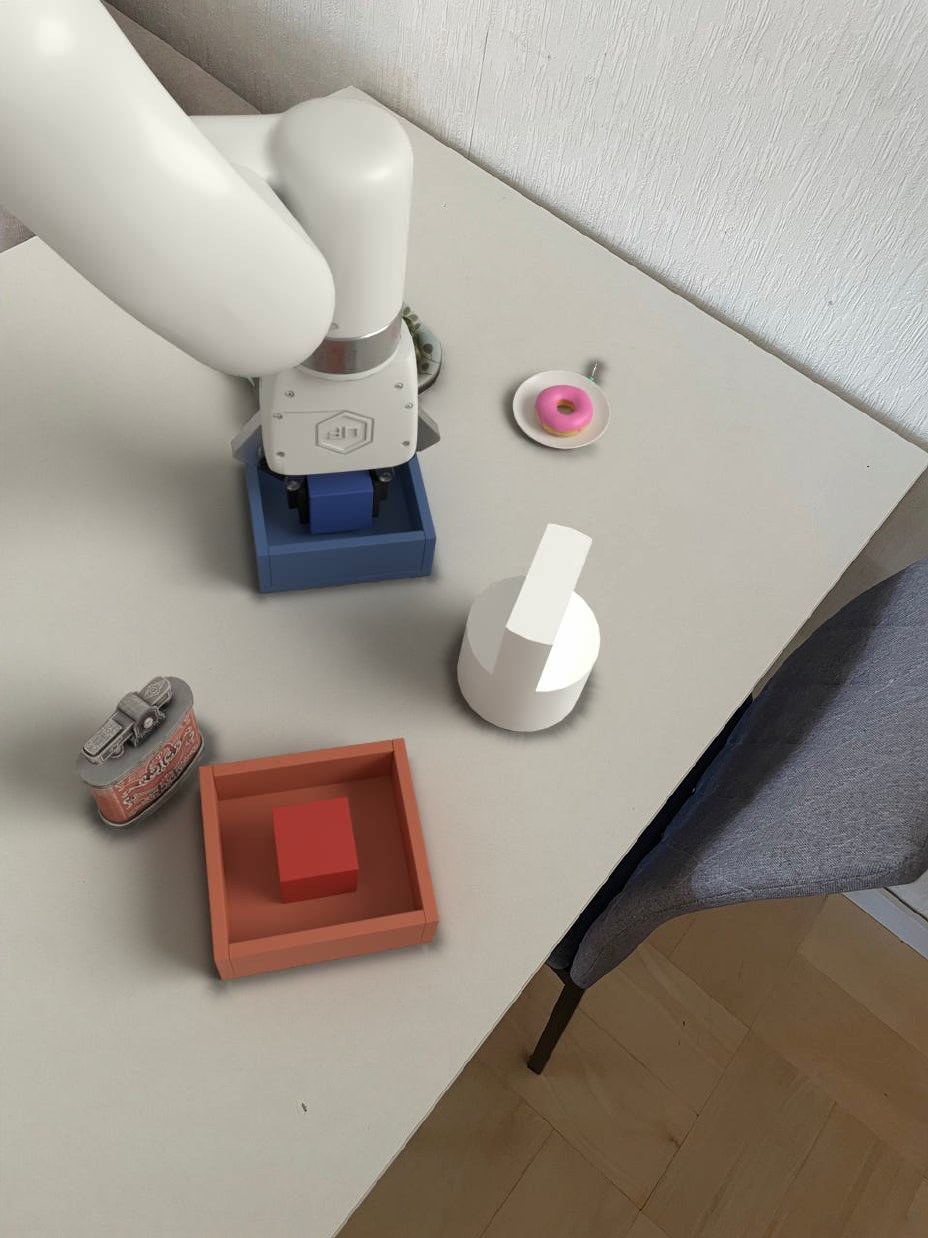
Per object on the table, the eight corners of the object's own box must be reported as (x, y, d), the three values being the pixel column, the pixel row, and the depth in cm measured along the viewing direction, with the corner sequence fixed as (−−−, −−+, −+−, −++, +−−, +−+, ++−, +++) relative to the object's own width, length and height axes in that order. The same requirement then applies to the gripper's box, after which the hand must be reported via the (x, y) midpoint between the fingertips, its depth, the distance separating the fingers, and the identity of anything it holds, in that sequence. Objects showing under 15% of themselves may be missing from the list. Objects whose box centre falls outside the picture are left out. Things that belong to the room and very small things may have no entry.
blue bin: (260, 594, 74) (256, 556, 70) (244, 470, 80) (240, 428, 76) (430, 575, 76) (436, 537, 72) (403, 456, 82) (407, 415, 78)
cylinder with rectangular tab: (560, 750, 70) (599, 666, 60) (438, 703, 71) (457, 612, 61) (596, 646, 75) (638, 552, 65) (481, 604, 76) (505, 504, 65)
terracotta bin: (221, 980, 60) (214, 961, 56) (206, 796, 66) (198, 766, 61) (432, 942, 62) (439, 920, 58) (399, 767, 68) (404, 737, 64)
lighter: (178, 719, 68) (157, 644, 60) (217, 748, 67) (201, 676, 59) (87, 810, 64) (51, 743, 56) (127, 842, 63) (96, 779, 55)
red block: (282, 904, 62) (279, 882, 58) (274, 834, 64) (271, 807, 60) (356, 891, 63) (358, 869, 59) (346, 822, 65) (347, 796, 61)
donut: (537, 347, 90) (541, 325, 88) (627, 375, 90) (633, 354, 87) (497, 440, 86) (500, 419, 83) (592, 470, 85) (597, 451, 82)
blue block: (310, 534, 75) (309, 496, 71) (303, 486, 77) (301, 447, 73) (371, 528, 76) (373, 490, 72) (362, 481, 78) (363, 442, 74)
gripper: (198, 373, 57) (226, 558, 73) (489, 354, 61) (456, 534, 76) (189, 282, 61) (217, 476, 77) (463, 268, 64) (437, 457, 80)
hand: (336, 504), depth 76 cm, fingers closed on blue block, 4 cm apart
